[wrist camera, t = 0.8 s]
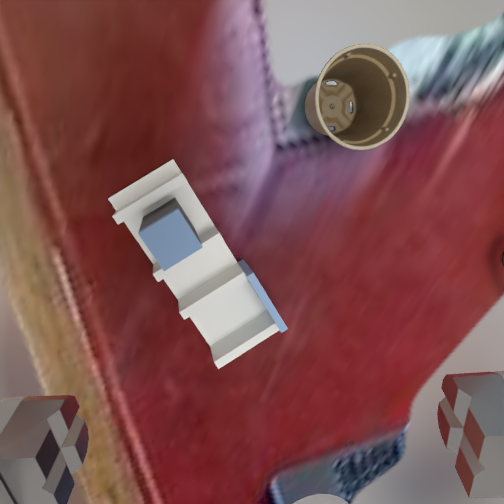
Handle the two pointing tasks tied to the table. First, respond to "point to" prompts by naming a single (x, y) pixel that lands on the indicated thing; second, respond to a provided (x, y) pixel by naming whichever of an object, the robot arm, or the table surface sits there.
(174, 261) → the plug
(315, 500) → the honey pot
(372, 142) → the flower pot
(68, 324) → the table surface
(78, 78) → the table surface
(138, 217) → the slotted rack with block
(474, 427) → the robot arm
